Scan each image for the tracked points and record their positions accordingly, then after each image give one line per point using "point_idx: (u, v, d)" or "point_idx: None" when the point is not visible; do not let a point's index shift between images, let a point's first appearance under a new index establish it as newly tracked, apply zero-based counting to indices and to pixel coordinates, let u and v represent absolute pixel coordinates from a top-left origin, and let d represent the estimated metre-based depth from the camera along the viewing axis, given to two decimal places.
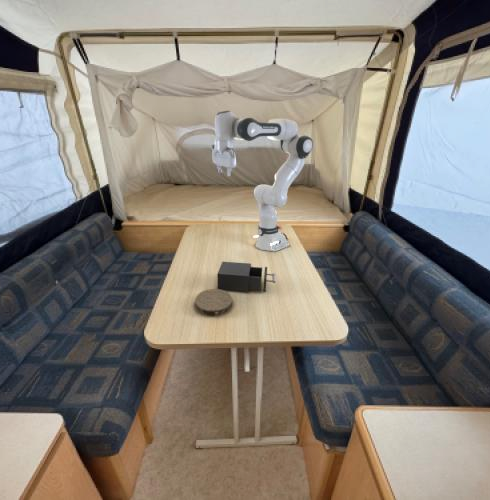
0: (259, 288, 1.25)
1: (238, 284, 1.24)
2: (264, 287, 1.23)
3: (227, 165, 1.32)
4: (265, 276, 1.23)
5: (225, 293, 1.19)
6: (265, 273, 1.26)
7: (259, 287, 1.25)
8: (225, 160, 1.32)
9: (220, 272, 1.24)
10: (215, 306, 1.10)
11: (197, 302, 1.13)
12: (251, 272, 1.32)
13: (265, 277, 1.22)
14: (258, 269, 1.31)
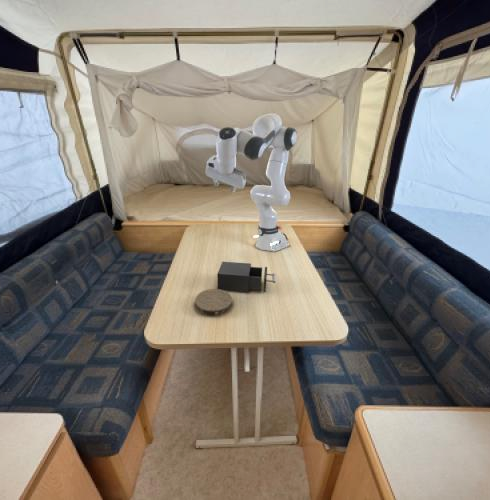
0: (259, 288, 1.25)
1: (238, 284, 1.24)
2: (264, 287, 1.23)
3: (237, 186, 1.25)
4: (265, 276, 1.23)
5: (225, 293, 1.19)
6: (265, 273, 1.26)
7: (259, 287, 1.25)
8: (233, 181, 1.24)
9: (220, 272, 1.24)
10: (215, 306, 1.10)
11: (197, 302, 1.13)
12: (251, 272, 1.32)
13: (265, 277, 1.22)
14: (258, 269, 1.31)
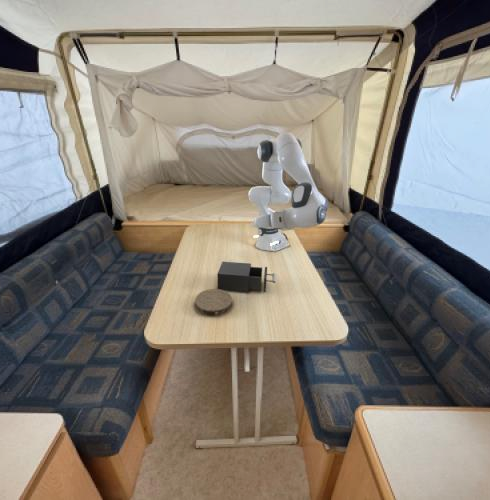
0: (259, 288, 1.25)
1: (238, 284, 1.24)
2: (264, 287, 1.23)
3: None
4: (265, 276, 1.23)
5: (225, 293, 1.19)
6: (265, 273, 1.26)
7: (259, 287, 1.25)
8: None
9: (220, 272, 1.24)
10: (215, 306, 1.10)
11: (197, 302, 1.13)
12: (251, 272, 1.32)
13: (265, 277, 1.22)
14: (258, 269, 1.31)
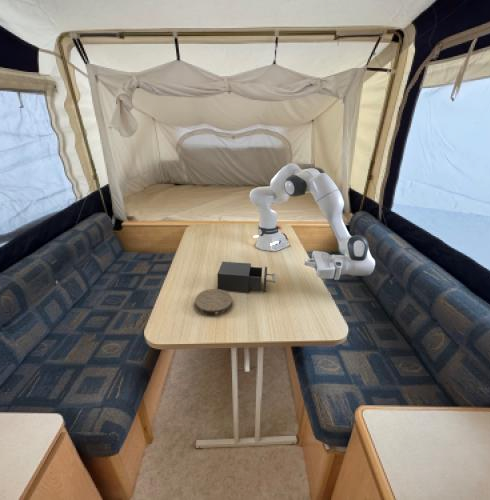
0: (259, 288, 1.25)
1: (238, 284, 1.24)
2: (264, 287, 1.23)
3: None
4: (265, 276, 1.23)
5: (225, 293, 1.19)
6: (265, 273, 1.26)
7: (259, 287, 1.25)
8: None
9: (220, 272, 1.24)
10: (215, 306, 1.10)
11: (197, 302, 1.13)
12: (251, 272, 1.32)
13: (265, 277, 1.22)
14: (258, 269, 1.31)
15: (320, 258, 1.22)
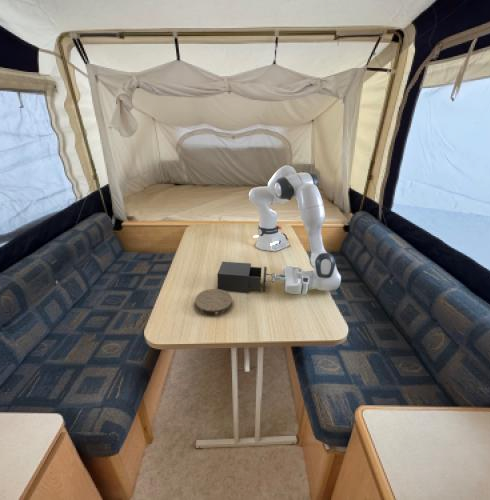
0: (258, 288, 1.25)
1: (238, 284, 1.24)
2: (263, 287, 1.23)
3: None
4: (264, 276, 1.23)
5: (225, 293, 1.19)
6: (264, 273, 1.26)
7: (258, 287, 1.25)
8: None
9: (220, 272, 1.24)
10: (215, 306, 1.10)
11: (197, 302, 1.13)
12: (250, 272, 1.32)
13: (264, 277, 1.22)
14: (257, 269, 1.31)
15: (290, 273, 1.27)
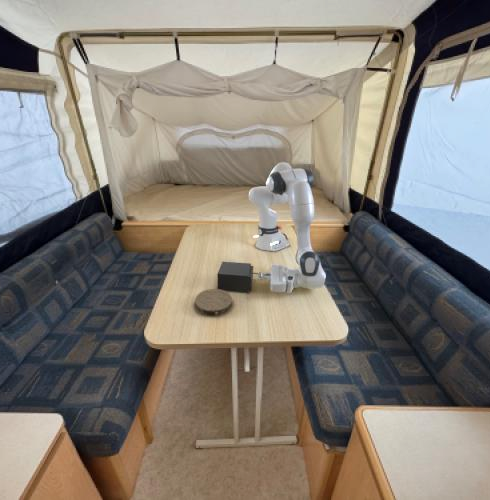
0: None
1: (238, 284, 1.24)
2: (249, 286, 1.24)
3: None
4: (250, 275, 1.24)
5: (225, 293, 1.19)
6: (250, 272, 1.26)
7: None
8: None
9: (220, 272, 1.24)
10: (215, 306, 1.10)
11: (197, 302, 1.13)
12: None
13: (250, 276, 1.23)
14: None
15: (276, 271, 1.28)
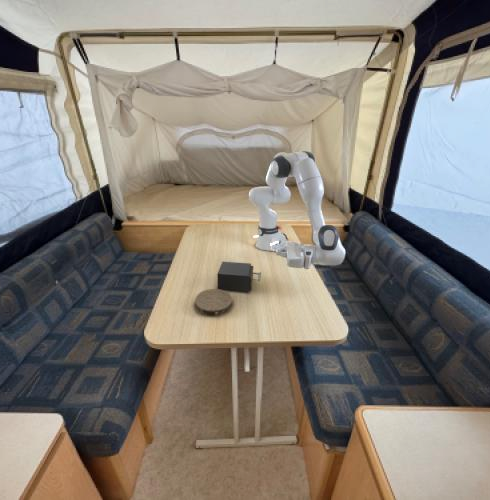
0: None
1: (238, 284, 1.24)
2: (249, 286, 1.24)
3: None
4: (250, 275, 1.24)
5: (225, 293, 1.19)
6: (250, 272, 1.26)
7: None
8: None
9: (220, 272, 1.24)
10: (215, 306, 1.10)
11: (197, 302, 1.13)
12: None
13: (250, 276, 1.23)
14: None
15: (292, 248, 1.22)
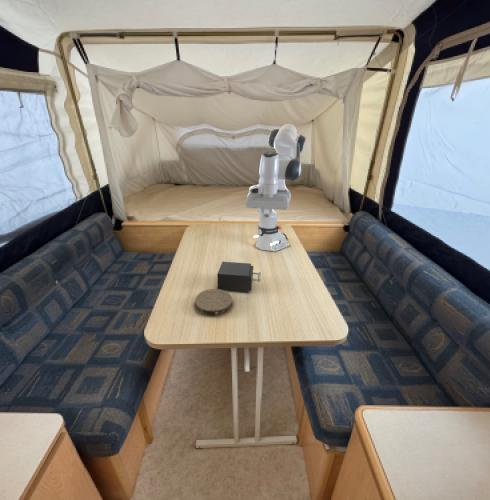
0: None
1: (238, 284, 1.24)
2: (249, 286, 1.24)
3: (282, 208, 1.25)
4: (250, 275, 1.24)
5: (225, 293, 1.19)
6: (250, 272, 1.26)
7: None
8: (278, 203, 1.24)
9: (220, 272, 1.24)
10: (215, 306, 1.10)
11: (197, 302, 1.13)
12: None
13: (250, 276, 1.23)
14: None
15: None
